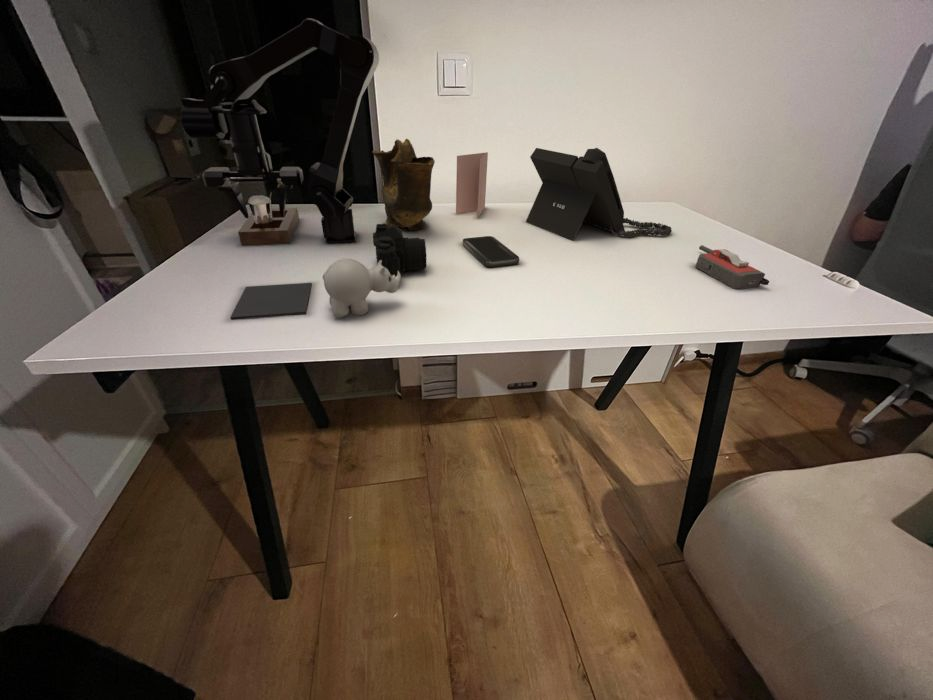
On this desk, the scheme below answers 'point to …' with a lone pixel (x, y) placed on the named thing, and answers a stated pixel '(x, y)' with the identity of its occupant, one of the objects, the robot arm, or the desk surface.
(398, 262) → the film camera
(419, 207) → the pottery vessel
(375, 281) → the round bodied animal figurine
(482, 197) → the greeting card
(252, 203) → the milkshake
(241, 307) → the mat
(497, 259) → the phone
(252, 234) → the rack
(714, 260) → the walkie-talkie
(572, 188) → the office phone
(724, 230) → the desk surface
